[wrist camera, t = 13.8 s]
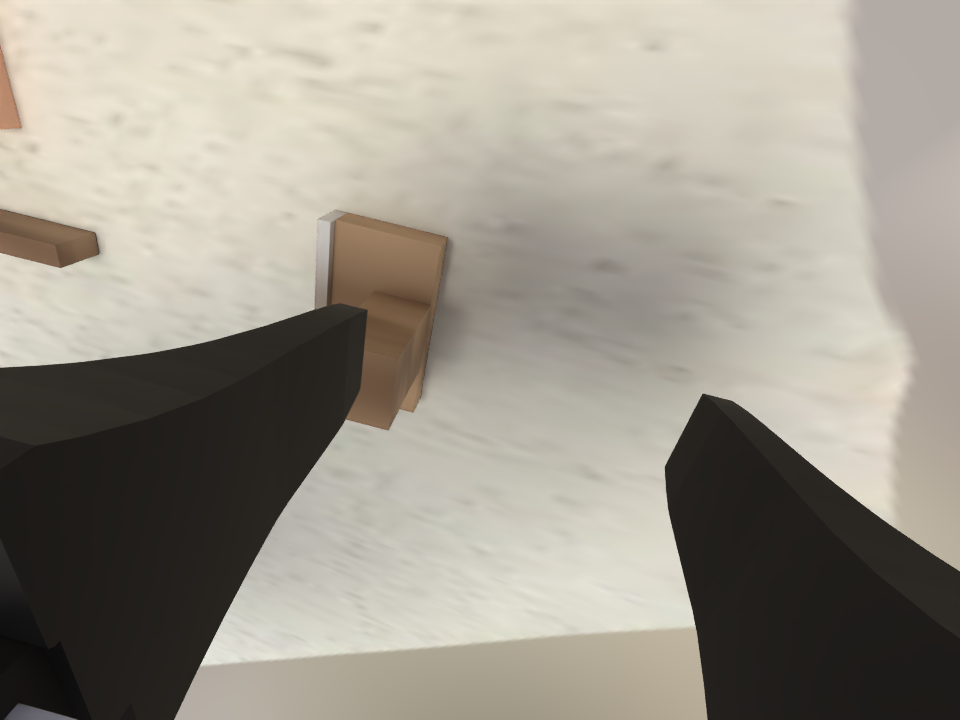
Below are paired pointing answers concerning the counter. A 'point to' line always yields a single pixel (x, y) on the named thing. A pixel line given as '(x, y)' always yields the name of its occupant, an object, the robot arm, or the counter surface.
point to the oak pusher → (382, 304)
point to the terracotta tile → (7, 100)
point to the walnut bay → (44, 240)
